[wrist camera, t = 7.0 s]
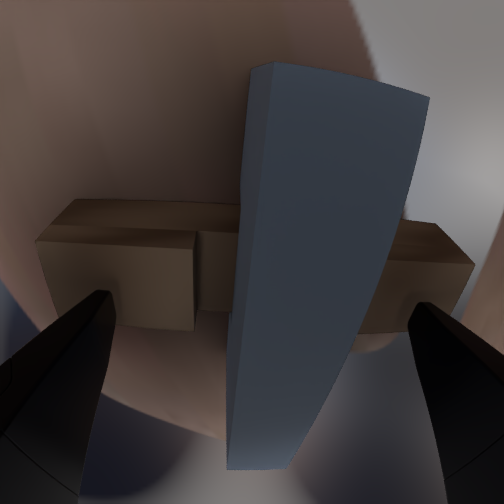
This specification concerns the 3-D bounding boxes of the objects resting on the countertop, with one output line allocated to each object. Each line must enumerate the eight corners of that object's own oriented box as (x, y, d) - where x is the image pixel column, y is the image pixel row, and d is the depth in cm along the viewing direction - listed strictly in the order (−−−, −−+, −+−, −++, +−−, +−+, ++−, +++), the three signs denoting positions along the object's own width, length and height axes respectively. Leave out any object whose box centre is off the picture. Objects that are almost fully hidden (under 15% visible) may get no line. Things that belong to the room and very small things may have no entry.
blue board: (322, 78, 9) (429, 97, 4) (272, 353, 15) (286, 468, 10) (251, 69, 8) (273, 61, 3) (226, 351, 15) (226, 469, 10)
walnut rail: (435, 223, 11) (475, 264, 9) (412, 282, 13) (442, 329, 11) (74, 199, 10) (34, 240, 8) (86, 267, 12) (58, 317, 9)
